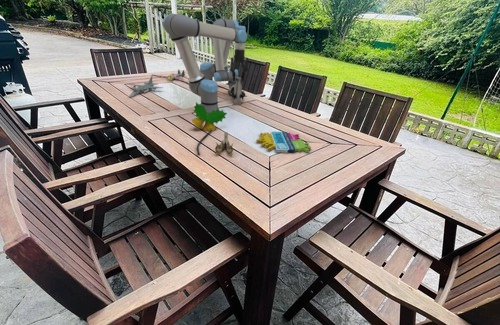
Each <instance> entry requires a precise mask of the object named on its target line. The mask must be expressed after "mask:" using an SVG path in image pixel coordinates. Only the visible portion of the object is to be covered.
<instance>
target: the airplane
mask: <svg viewBox="0 0 500 325" xmlns="http://www.w3.org/2000/svg"><path fill="white" fill-rule="evenodd" d="M153 75H154V74H151V76H150V78H149V80H148V81H147V82H146V81H144V82H143V85H142V84H134V83H129V84H128V85H130V86H132V87H131V89H133V91H132V92H131V93H130V94H129V95H128V96H127V98H129V97H130V98H131V97H135V96H137V95H139V94H141V93H148V92H150V91H151V90H152V92H154V91H156V90H157V89H163V88H164V87H162V86H157V85H158V83H154V82H153V78H154V76H153ZM155 85H156V86H155Z"/></svg>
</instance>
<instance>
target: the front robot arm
mask: <svg viewBox="0 0 500 325" xmlns="http://www.w3.org/2000/svg"><path fill="white" fill-rule="evenodd" d="M162 25H163V29H164V30H165V32H166V33H167V34H168V35H169V38H170V40H171V42H173V43H175V46H176V49H177V51H178V53H179V56H180V58H181V60H182V63H183V66H184V67H185V70H186V72H187V75H188V81H187V82H188V83H189V84H188V88H189V90H190V91H191V92H192V93H193V94H194V95H197V97H198V96H199V97H200V104H201V106H204V109H206V112H208V113H211V112H212V110H214V111H216V110H217V109H219V111H221V110H220V108H219V102H218V99H219V98H218V97H219V87H218V82H216V81H215V80H214V79H213V80H208V79H205V77H204V74H202V73H201V72H200V66H199V65H198V61H197V59H196V57H195V54H194V51H193V49H192V46H191V43H190V41H189V38H190V37H193V38H198V37H204V38H211V39H212V38H216V39H222V40H228V41H232V42H234V55H233V57H230V66H229V71H231V72H232V76H233V81H235V69H236V70H237V66H238V64H239V63H240V65H241V68H242V71H241V82H242V81H243V82H244V81H245V76H246V73H247V72H248V71H249V68H248V67H249V66H248V65H249V64H248V62H249V61H248V60H249V58H248V57H247V56H245V54H246V53H245V52H246V49H245V48H246V41H247V40H248V34H247V32H246V30H247V28H246V26H244V25H239V26H235V29H232V28H227V27H222V26H217V25H213V23H207V22H202V21H200V20H199V19H197V18H193V17H189V16H187V15H184V14H178V13H169V14H167V15H165V17H164V18H163V21H162ZM208 113H207V115H208ZM211 133H212V130H210V131H208V132H207V133H206V134H205V136H203V137H202V138H200V140H199V141H198V143H197V146H196V152H197V155H198V156H199V155H200V151H199V147H200V144H201V143H202V142H203V140H204V139H205V138H206V137H208V136H209V134H211Z"/></svg>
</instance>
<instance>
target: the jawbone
mask: <svg viewBox="0 0 500 325" xmlns="http://www.w3.org/2000/svg"><path fill="white" fill-rule="evenodd" d="M223 135H224V136H223V140H222V139H221V142H220V144H218V142H215V144H216V146H215V148H214V149H215V152H214V154H215V155H217V156H218V155H220V153H221V152H223V151H224V150H226V152H227V153H228V155H229V156H233V155H234V154H233V153H234V148H233V144H234V143H230V140H228V139H229V138H228V137H229V136H228V135H229V133H228V131H226V132H224V134H223Z"/></svg>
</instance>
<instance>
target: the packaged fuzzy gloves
mask: <svg viewBox="0 0 500 325" xmlns="http://www.w3.org/2000/svg"><path fill="white" fill-rule="evenodd" d="M299 136H300V135H299V134H298V133H296V134H294V133H291V132H287V131H270V132H264V133H263V132H260V133H259V139H258V138H257V139H256V143H257V144H261V148H263V147H264V148H265V149H267V151H268V152H271V151H272V150H273V149H275V152H276V153H283V154H285V153H287V154H288V153H290V154H293V153H296V152H298V153H301V152H305V153H310V151H311V150H312V149H311V148H312V146H309V142H304V141H303V139H302V138H299Z"/></svg>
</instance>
